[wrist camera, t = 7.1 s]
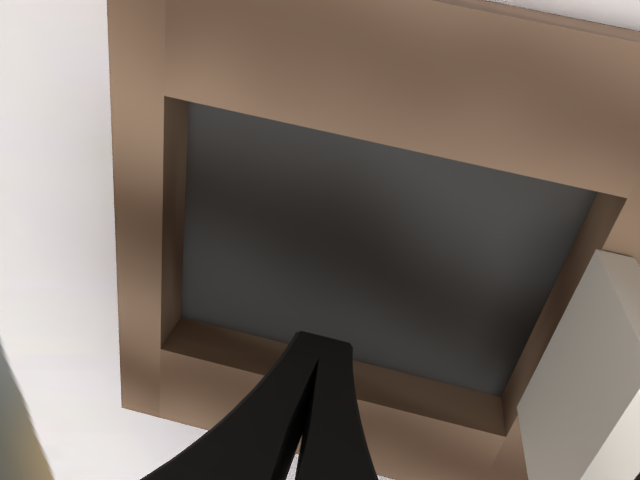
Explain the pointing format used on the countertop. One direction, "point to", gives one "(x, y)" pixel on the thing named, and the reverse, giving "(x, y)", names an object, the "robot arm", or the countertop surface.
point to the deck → (365, 205)
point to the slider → (589, 382)
